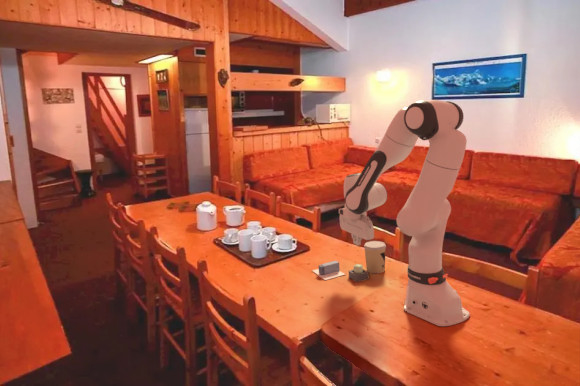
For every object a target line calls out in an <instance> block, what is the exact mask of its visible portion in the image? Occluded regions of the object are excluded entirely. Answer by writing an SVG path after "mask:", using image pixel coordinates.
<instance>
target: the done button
mask: <svg viewBox="0 0 580 386" xmlns="http://www.w3.org/2000/svg"><path fill="white" fill-rule="evenodd" d="M353 269H354V273H355V274H361V273H363V269H364V266H363V265H362V264H361V263H360V264H359V263H357V264H354V265H353Z"/></svg>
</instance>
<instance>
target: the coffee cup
mask: <svg viewBox="0 0 580 386" xmlns="http://www.w3.org/2000/svg"><path fill="white" fill-rule="evenodd" d="M363 248H364V257H365V264H366V271H367V272H369V273H371V274H381V273H383V272H385V269H386V248H387V245H386V243H385V242H383V241H381V240H380V241H379V240H368V241H367V242H365V243H364V245H363Z"/></svg>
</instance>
